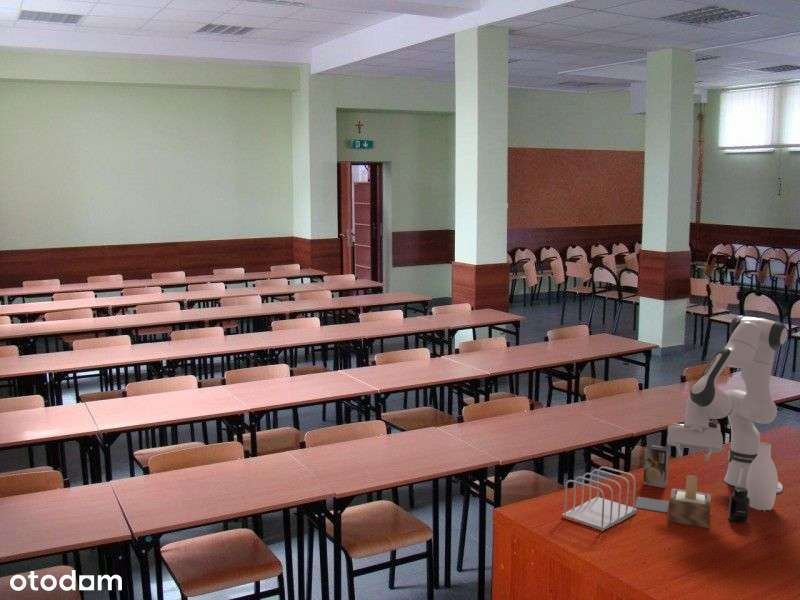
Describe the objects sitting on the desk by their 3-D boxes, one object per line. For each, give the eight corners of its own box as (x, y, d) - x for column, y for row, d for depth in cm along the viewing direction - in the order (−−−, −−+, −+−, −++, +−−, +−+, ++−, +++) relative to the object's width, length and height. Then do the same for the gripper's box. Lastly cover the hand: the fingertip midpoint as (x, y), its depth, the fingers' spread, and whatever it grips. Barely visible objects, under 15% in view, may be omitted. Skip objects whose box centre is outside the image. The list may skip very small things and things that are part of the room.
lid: (705, 497, 292) (706, 474, 290) (704, 506, 282) (705, 483, 281) (677, 493, 295) (678, 470, 294) (675, 502, 286) (676, 478, 285)
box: (709, 514, 293) (711, 494, 292) (708, 528, 281) (710, 507, 280) (670, 508, 299) (672, 488, 298) (668, 521, 286) (669, 500, 285)
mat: (669, 502, 305) (669, 501, 305) (666, 513, 294) (666, 512, 294) (637, 497, 309) (637, 496, 309) (634, 507, 298) (634, 506, 298)
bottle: (745, 509, 299) (750, 446, 296) (743, 499, 309) (748, 438, 306) (777, 514, 295) (782, 449, 292) (774, 503, 305) (779, 441, 302)
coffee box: (667, 483, 326) (669, 446, 324) (665, 488, 320) (667, 451, 318) (645, 479, 330) (647, 443, 328) (642, 484, 324) (644, 447, 322)
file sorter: (596, 501, 305) (598, 463, 303) (637, 514, 293) (639, 474, 291) (561, 518, 287) (563, 478, 286) (603, 532, 275) (605, 490, 273)
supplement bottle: (739, 524, 284) (742, 493, 283) (724, 518, 290) (726, 487, 289) (752, 521, 287) (754, 490, 286) (736, 515, 293) (739, 484, 292)
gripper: (668, 418, 304) (664, 449, 297) (724, 425, 297) (722, 457, 289) (668, 426, 309) (664, 457, 301) (723, 434, 301) (721, 465, 293)
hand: (693, 457), depth 295 cm, fingers open, 8 cm apart
